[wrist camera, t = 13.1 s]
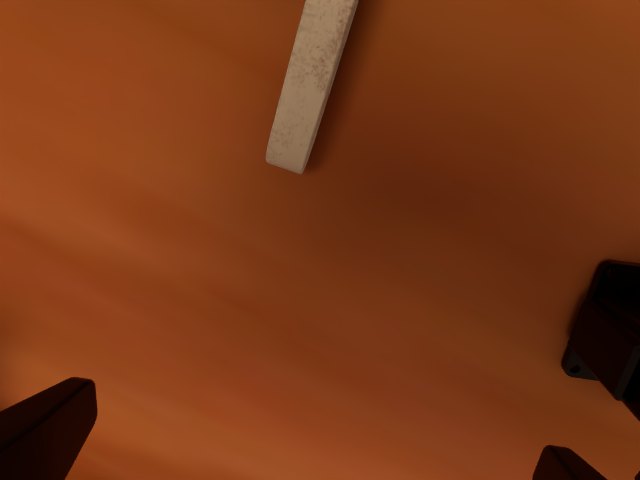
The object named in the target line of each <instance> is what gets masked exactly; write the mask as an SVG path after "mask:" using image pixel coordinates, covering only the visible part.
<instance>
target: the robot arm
mask: <svg viewBox="0 0 640 480" xmlns="http://www.w3.org/2000/svg"><path fill="white" fill-rule="evenodd" d="M612 268H614V271H613V272H612V273H611V274H608V275H607V272H608V271H609V270H610V269H612ZM568 344H569V345H568V348H567V350H566V353H565V356H564V358H563V361H562V365H561V367H562V369H563V370H564V372H565V373H566V374H567V375H568V376H570V377H575V378H582V379H590V380H597V381H600V382H601V383H602V385H603V386H604V387H605V388H606V389H607V390H608V392H609V393H610V394H611V395H612V396H613V397H614V399H616V400H618V401H622V402H623V403H624V404H625V405H626V407H627V408H628V409H629V410H630V411H631V412H632V413H633V415H634V416H635V417H636V418H637V419H638V420H639V421H640V264H636V263H629V262H621V261H614V260H607V261H605V262H603V263H602V264H600V265H599V267H598V269H597V271H596V274H595V277H594V279H593V282H592V285H591V287H590V290H589V292H588V295H587V298H586V300H585V301H584V302H583V304H582V307H581V310H580V312H579V315H578V318H577V320H576V323H575V325H574V328H573V331H572V333H571V336H570V339H569V341H568ZM573 365H576V366H575V367H574V368H571V367H572V366H573ZM96 418H97V400H96V388H95V383H94V381H93V380H91V379H86V378H79V377H71V378H69V379H66V380H64V381H62V382H60V383H58V384H56V385H54V386H52V387H50V388H48V389H46V390H44V391H42V392H40V393H37V394H35V395H33V396H31V397H29V398H27V399H25V400H23V401H21V402H19V403H17V404H15V405H13V406H11V407H9V408H6V409H4V410H2V411H0V480H65V478H66V476H67V475H68V473H69V471H70V469H71V467H72V465H73V463H74V461H75V460H76V458H77V456H78V454H79V452H80V450H81V448H82V446H83V445H84V443H85V441H86V439H87V437H88V435H89V433H90V431H91V430H92V428H93V426H94V424H95V421H96ZM532 480H607V479H606V478H605V477H604V476H602V475H601V474H600V473H599V472H598V471H596V470H595V469H594V468H593V467H592V466H590V465H589V464H588V463H587V462H586V461H584V460H583V459H582V458H581V457H580V456H578V455H577V454H576V453H575V452H573V451H572V450H571V449H569V448H566V447H560V446H553V445H547V446H546V447H544V449H543V451H542V453H541V456H540V458H539V461H538V463H537V466H536V468H535V471H534V473H533V478H532ZM635 480H640V471H639V472H638V474H637V475H636V476H635Z"/></svg>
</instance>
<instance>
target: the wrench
mask: <svg viewBox="0 0 640 480" xmlns="http://www.w3.org/2000/svg"><path fill="white" fill-rule="evenodd" d="M358 2H359V0H306V1H305V5H304V8H303V12H302V16H301V20H300V24H299V27H298V31H297V35H296V39H295V42H294V46H293V50H292V54H291V58H290V61H289V65H288V69H287V73H286V76H285V80H284V84H283V88H282V92H281V95H280V99H279V103H278V107H277V111H276V114H275V118H274V122H273V126H272V129H271V133H270V137H269V141H268V146H267V151H266V161H267V163H269V164H272V165H275V166H278V167H280V168H283V169H286V170H289V171H292V172H295V173H298V174H302V173H303V172H304V169H305V167H306V164H307V162H308V159H309V156H310V153H311V150H312V147H313V144H314V141H315V138H316V135H317V132H318V128H319V125H320V122H321V119H322V116H323V113H324V110H325V106H326V103H327V100H328V97H329V94H330V91H331V88H332V84H333V81H334V78H335V75H336V72H337V68H338V65H339V62H340V59H341V56H342V53H343V49H344V46H345V43H346V40H347V37H348V34H349V30H350V27H351V24H352V21H353V18H354V14H355V11H356V8H357V5H358Z"/></svg>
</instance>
